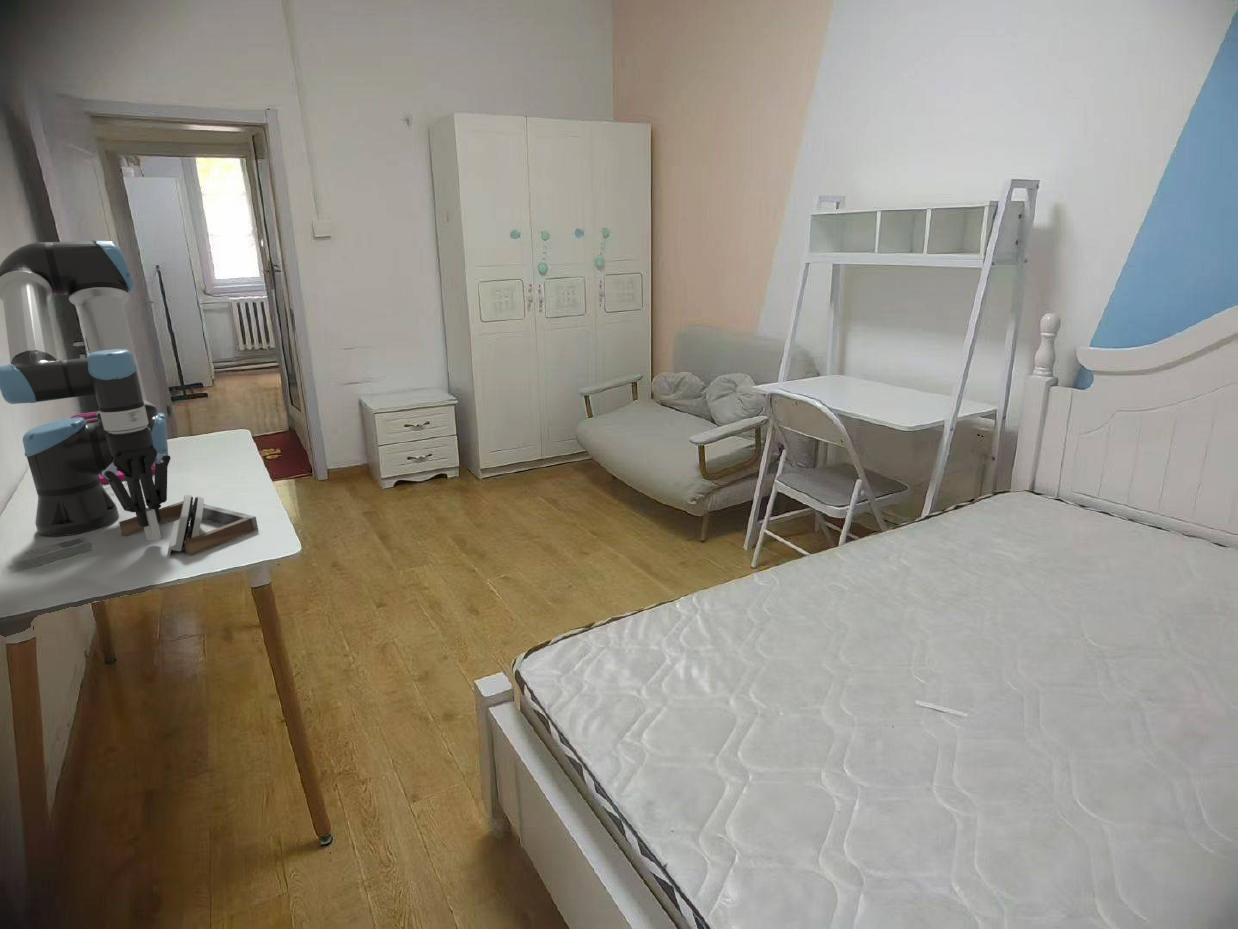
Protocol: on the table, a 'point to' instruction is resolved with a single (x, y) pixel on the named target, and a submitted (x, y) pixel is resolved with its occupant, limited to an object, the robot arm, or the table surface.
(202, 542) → the brown u-shaped frame
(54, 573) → the table surface
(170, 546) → the hinge
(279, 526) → the table surface
